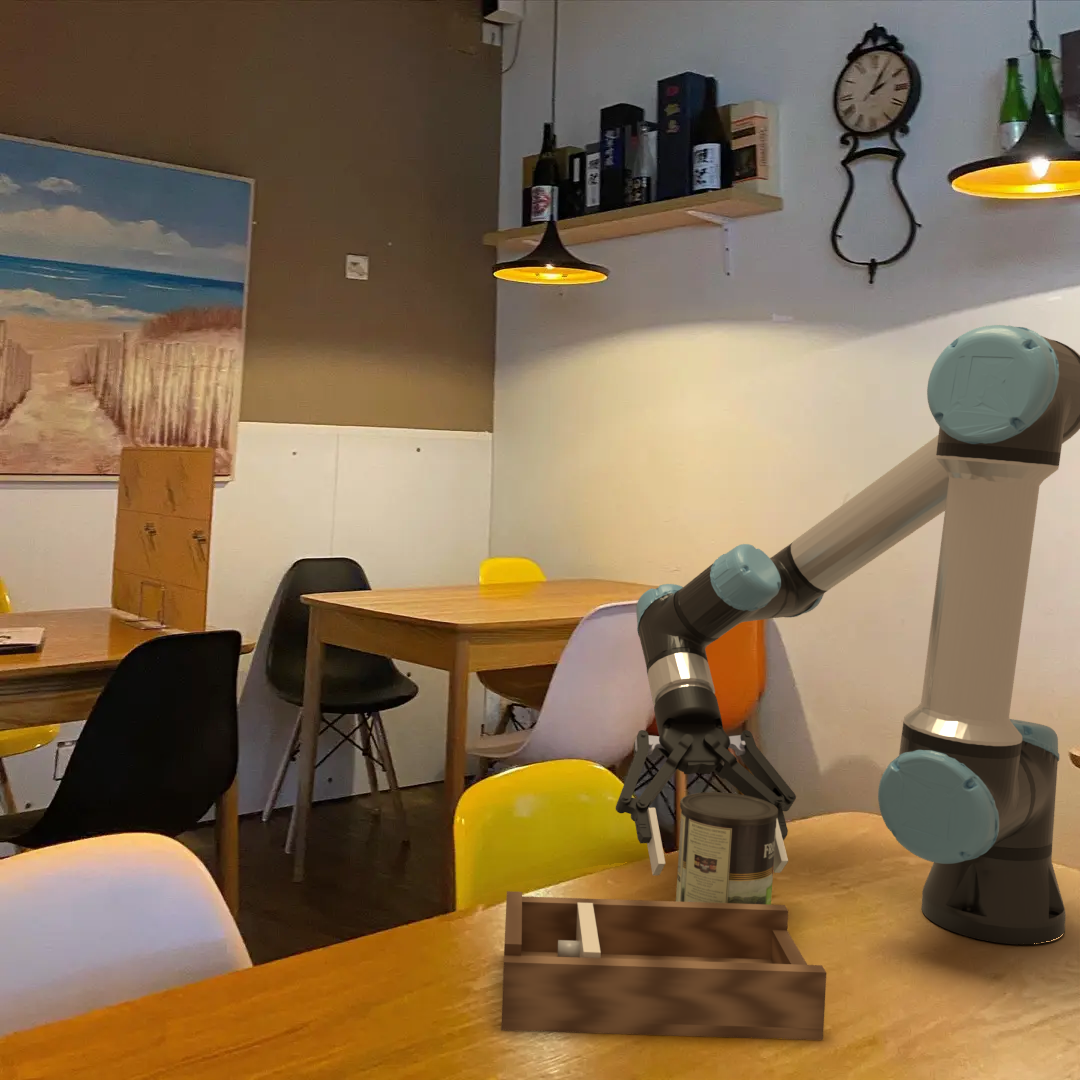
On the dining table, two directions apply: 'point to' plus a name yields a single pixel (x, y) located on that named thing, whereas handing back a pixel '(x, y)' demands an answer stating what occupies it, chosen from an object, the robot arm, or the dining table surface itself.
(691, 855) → the coffee can
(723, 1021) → the wooden tray
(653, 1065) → the dining table surface
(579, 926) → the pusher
